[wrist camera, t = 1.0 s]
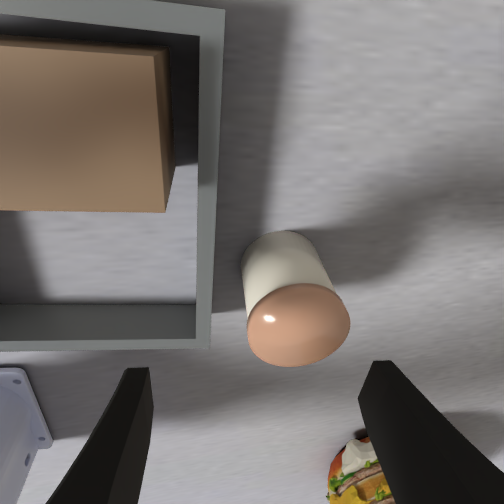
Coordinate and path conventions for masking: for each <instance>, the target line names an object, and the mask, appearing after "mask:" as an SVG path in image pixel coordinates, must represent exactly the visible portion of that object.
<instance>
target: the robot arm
mask: <svg viewBox="0 0 504 504" xmlns="http://www.w3.org/2000/svg"><path fill="white" fill-rule="evenodd" d="M358 401H359V405H360V409H361V413H362V417H363V420H364V424H365V427H366V431H367V433H368V436H369V439H370V441H371V444H372V446H373V449H374V451H375V454H376V456H377V459H378V461H379V464H380V466H381V469H382V471H383V474H384V476H385V479H386V481H387V484H388V486H389V489H390V491H391V494H392V496H393V499H394V501H395V504H504V473H503V472H502V471H501V470H500V469H498V468H497V467H496V466H495V465H494V464H493V463H492V462H491V461H489V460H488V459H487V458H486V457H485V456H484V455H483V454H482V453H481V452H480V451H479V450H478V449H477V448H476V447H474V446H473V445H472V444H471V443H470V442H469V441H468V440H467V439H466V438H465V437H464V436H463V435H462V434H461V433H460V432H459V431H458V430H457V429H456V428H455V427H454V426H453V425H452V424H451V423H450V422H449V421H448V420H447V419H446V418H445V417H444V416H443V415H442V414H441V413H440V412H439V411H438V410H437V409H436V408H435V407H434V406H433V405H432V404H431V403H430V402H429V401H428V400H427V398H426V397H425V396H424V395H423V394H422V393H421V392H420V391H419V390H418V389H417V388H416V387H415V386H414V385H413V383H412V382H411V381H410V380H409V379H408V378H407V377H406V376H405V375H404V374H403V373H402V372H401V371H400V369H399V368H398V367H397V366H396V365H395V364H394V363H393V362H392V361H391V360H385V361H373V363H372V366H371V368H370V370H369V373H368V375H367V377H366V380H365V382H364V385H363V387H362V389H361V392H360V394H359V396H358ZM153 409H154V406H153V398H152V390H151V381H150V373H149V367H146V368H127V369H126V370H125V371H124V373H123V375H122V378H121V380H120V382H119V384H118V386H117V388H116V390H115V392H114V394H113V396H112V398H111V400H110V402H109V404H108V406H107V407H106V409H105V411H104V413H103V415H102V416H101V418H100V420H99V422H98V423H97V425H96V427H95V428H94V430H93V432H92V434H91V435H90V437H89V439H88V440H87V442H86V444H85V445H84V447H83V449H82V450H81V452H80V453H79V455H78V456H77V458H76V459H75V461H74V462H73V464H72V466H71V467H70V469H69V470H68V472H67V473H66V475H65V476H64V478H63V479H62V481H61V482H60V484H59V485H58V487H57V488H56V490H55V491H54V493H53V494H52V495H51V497H50V498H49V500H48V501H47V502H46V504H138V499H139V495H140V490H141V485H142V480H143V475H144V470H145V465H146V460H147V455H148V450H149V445H150V437H151V428H152V418H153ZM52 444H53V439H52V437H51V434H50V432H49V429H48V427H47V424H46V422H45V420H44V417H43V415H42V412H41V410H40V407H39V405H38V402H37V400H36V397H35V395H34V392H33V390H32V387H31V385H30V382H29V380H28V377H27V375H26V372H25V371H24V370H23V369H21V368H0V504H16V503H17V501H18V498H19V496H20V493H21V491H22V488H23V486H24V483H25V481H26V478H27V476H28V473H29V471H30V468H31V466H32V463H33V461H34V458H35V456H36V453H37V451H38V449H48V448H50V447H51V446H52Z"/></svg>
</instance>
